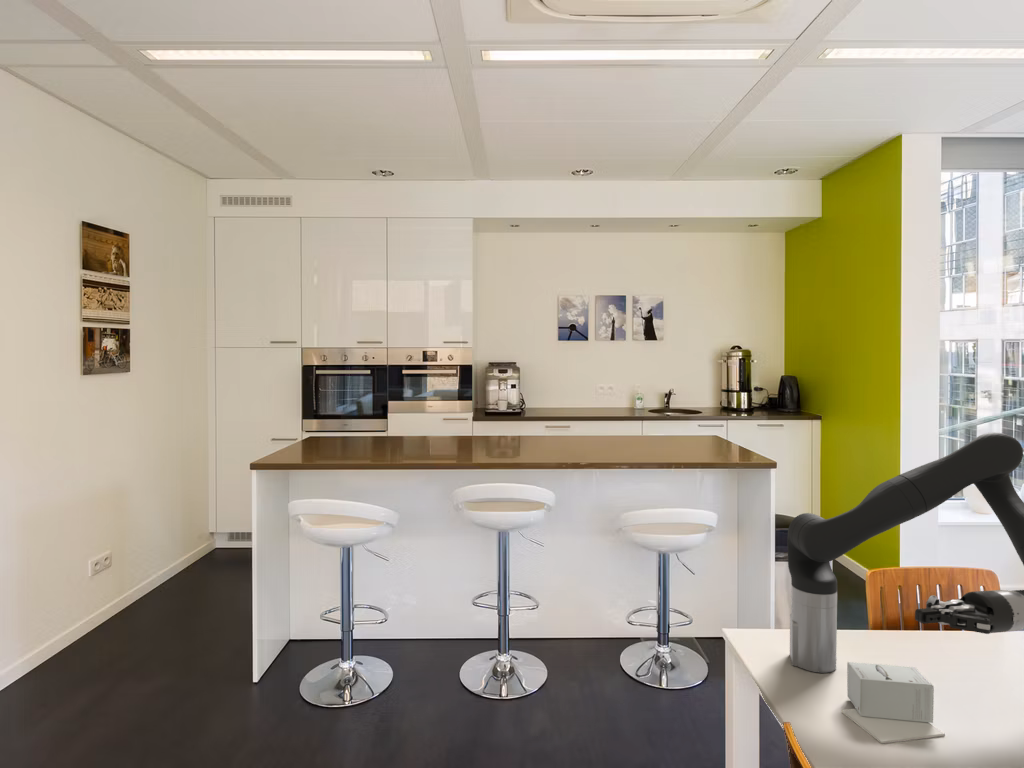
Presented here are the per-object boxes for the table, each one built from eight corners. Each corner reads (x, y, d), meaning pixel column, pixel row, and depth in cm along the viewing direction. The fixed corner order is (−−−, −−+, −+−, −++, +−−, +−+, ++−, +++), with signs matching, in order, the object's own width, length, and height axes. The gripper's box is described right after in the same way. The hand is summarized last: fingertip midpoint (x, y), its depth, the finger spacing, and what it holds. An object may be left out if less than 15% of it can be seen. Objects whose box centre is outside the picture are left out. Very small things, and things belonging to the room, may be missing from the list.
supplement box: (934, 685, 113) (860, 679, 115) (934, 724, 113) (860, 717, 116) (915, 665, 120) (846, 660, 123) (915, 702, 121) (846, 696, 123)
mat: (881, 743, 108) (881, 741, 108) (841, 712, 118) (841, 710, 118) (944, 735, 110) (944, 733, 110) (900, 705, 120) (900, 703, 120)
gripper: (966, 579, 124) (891, 584, 121) (1032, 604, 111) (949, 610, 108) (965, 616, 124) (890, 621, 121) (1030, 645, 111) (948, 652, 108)
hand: (918, 616), depth 115 cm, fingers closed
